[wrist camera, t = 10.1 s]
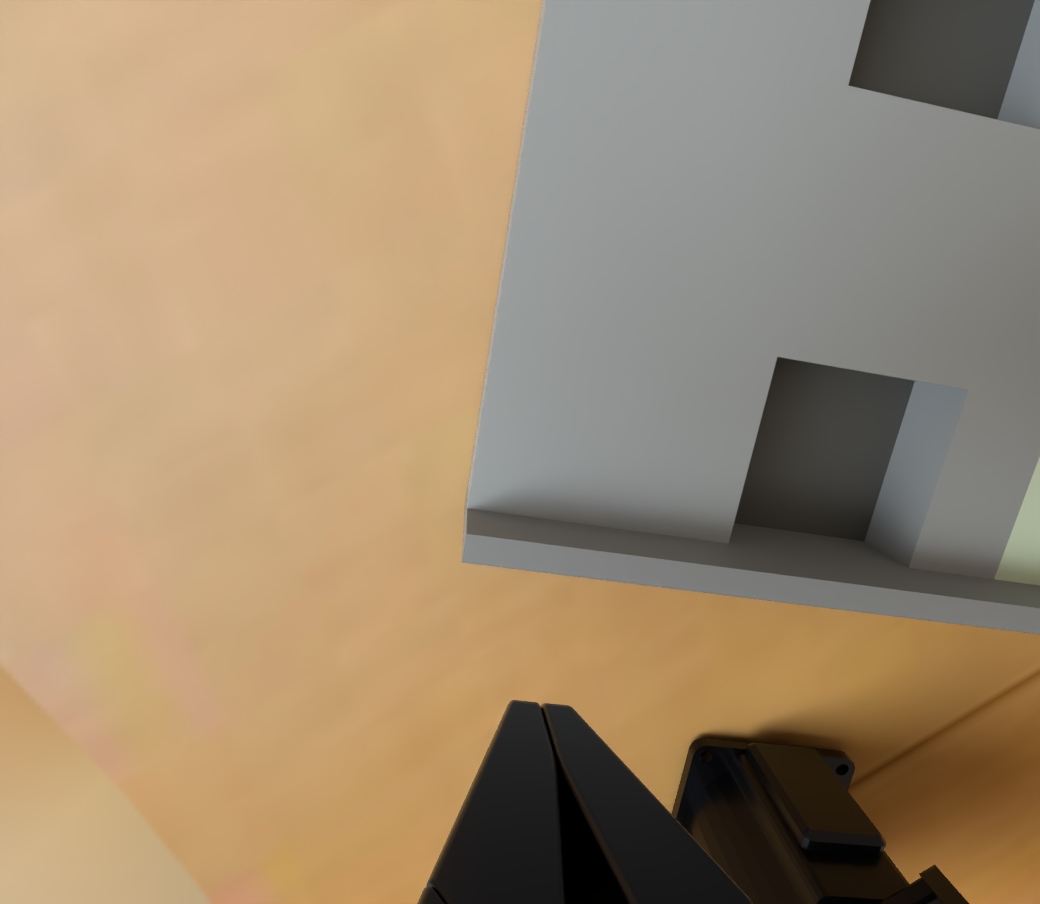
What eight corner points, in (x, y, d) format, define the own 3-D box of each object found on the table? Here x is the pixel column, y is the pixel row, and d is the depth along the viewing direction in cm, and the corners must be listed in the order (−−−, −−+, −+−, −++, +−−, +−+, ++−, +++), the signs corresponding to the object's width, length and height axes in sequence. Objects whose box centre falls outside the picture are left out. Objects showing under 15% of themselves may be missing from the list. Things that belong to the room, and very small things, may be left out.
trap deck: (1097, 591, 22) (1247, 660, 18) (464, 506, 20) (461, 562, 15) (1347, -9, 18) (1624, -109, 14) (576, -221, 15) (616, -428, 11)
